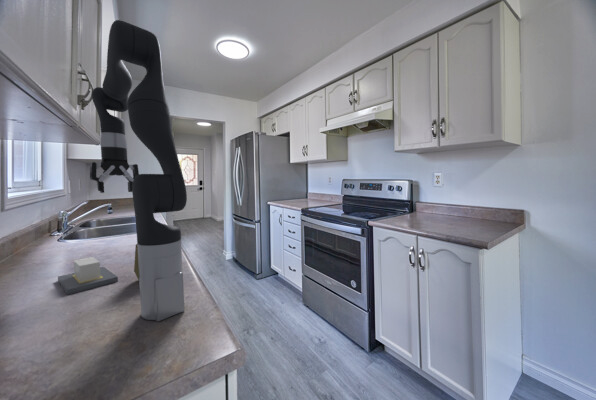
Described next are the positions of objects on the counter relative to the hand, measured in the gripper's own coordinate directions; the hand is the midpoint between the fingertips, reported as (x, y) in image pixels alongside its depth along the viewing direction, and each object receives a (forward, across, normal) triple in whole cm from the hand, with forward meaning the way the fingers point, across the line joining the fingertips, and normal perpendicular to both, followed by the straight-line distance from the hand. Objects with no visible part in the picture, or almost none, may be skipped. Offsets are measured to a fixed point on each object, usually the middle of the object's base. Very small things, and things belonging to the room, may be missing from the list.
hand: (116, 192), depth 90 cm
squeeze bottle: (+28, +2, -20) cm, 35 cm away
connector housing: (+27, -11, -6) cm, 29 cm away
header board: (+28, -11, -6) cm, 31 cm away
